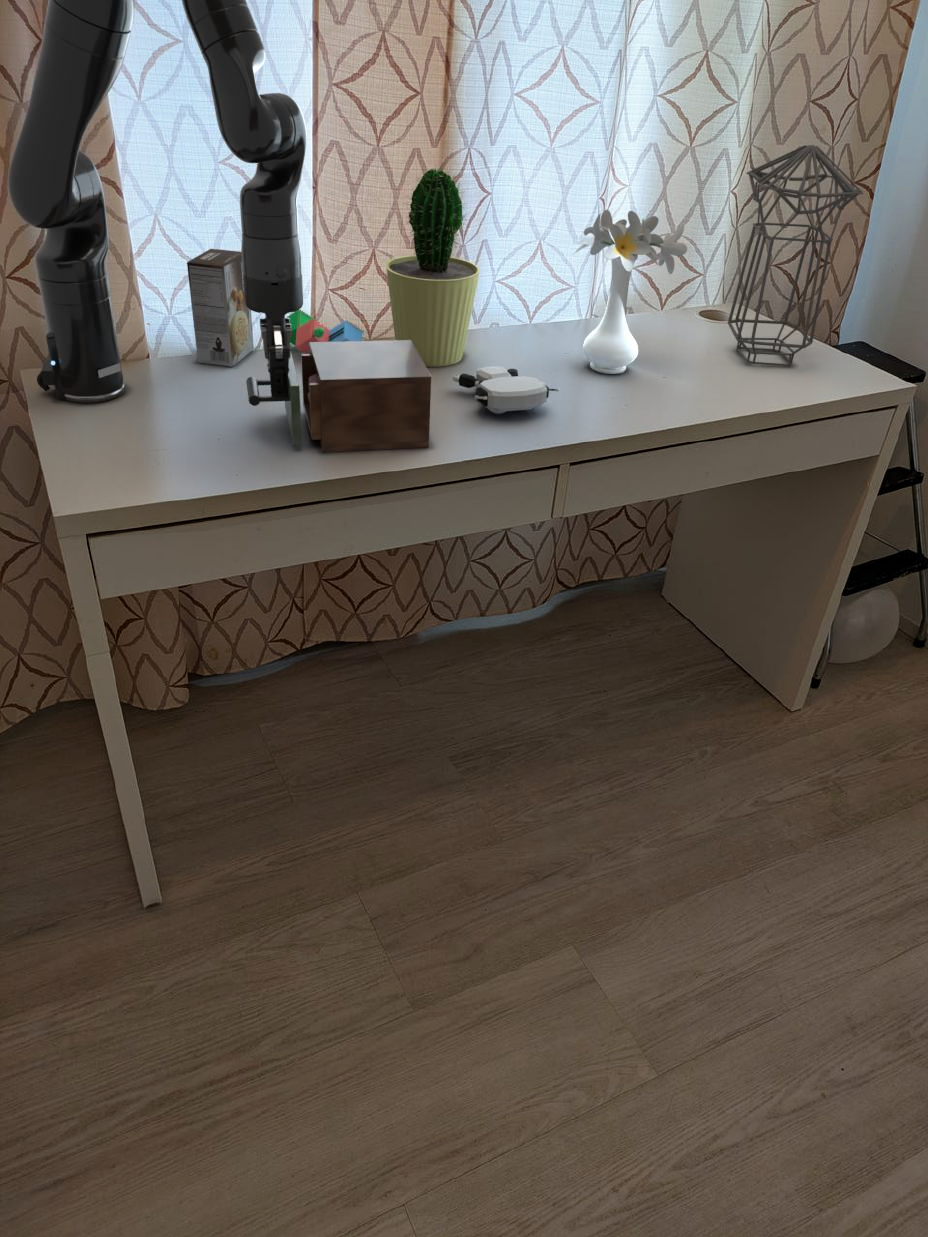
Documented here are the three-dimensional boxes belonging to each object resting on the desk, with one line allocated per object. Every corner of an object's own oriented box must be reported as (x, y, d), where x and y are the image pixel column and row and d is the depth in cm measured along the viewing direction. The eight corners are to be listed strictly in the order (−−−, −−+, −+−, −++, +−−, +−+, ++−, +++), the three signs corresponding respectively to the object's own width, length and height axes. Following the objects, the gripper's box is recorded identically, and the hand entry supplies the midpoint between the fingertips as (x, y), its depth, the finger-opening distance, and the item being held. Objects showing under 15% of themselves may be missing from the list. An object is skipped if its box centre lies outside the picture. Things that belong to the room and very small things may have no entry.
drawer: (252, 447, 130) (248, 387, 126) (247, 408, 141) (243, 351, 137) (392, 441, 135) (392, 382, 130) (376, 403, 145) (377, 348, 141)
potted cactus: (366, 349, 167) (366, 160, 150) (435, 334, 176) (443, 153, 159) (422, 377, 158) (428, 178, 141) (492, 360, 166) (506, 170, 150)
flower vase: (675, 372, 166) (703, 218, 152) (587, 386, 158) (609, 225, 144) (629, 348, 176) (651, 200, 162) (544, 360, 168) (560, 206, 154)
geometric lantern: (817, 376, 169) (876, 156, 149) (727, 370, 169) (774, 150, 149) (793, 346, 182) (845, 140, 162) (710, 341, 182) (751, 134, 162)
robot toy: (447, 394, 155) (486, 424, 143) (447, 366, 152) (487, 394, 140) (516, 386, 159) (559, 415, 147) (517, 359, 157) (562, 385, 145)
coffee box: (219, 345, 165) (210, 246, 156) (254, 349, 164) (248, 251, 155) (196, 362, 158) (185, 260, 149) (233, 367, 157) (225, 265, 148)
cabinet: (322, 452, 133) (320, 379, 127) (311, 410, 144) (309, 342, 139) (428, 447, 136) (431, 376, 130) (409, 406, 148) (411, 339, 142)
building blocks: (315, 378, 168) (363, 350, 160) (278, 356, 162) (326, 327, 155) (318, 339, 170) (365, 311, 163) (281, 317, 165) (328, 286, 157)
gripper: (240, 256, 129) (249, 381, 139) (244, 284, 119) (254, 418, 128) (297, 256, 131) (302, 380, 140) (306, 284, 120) (311, 416, 130)
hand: (279, 398), depth 134 cm, fingers closed
